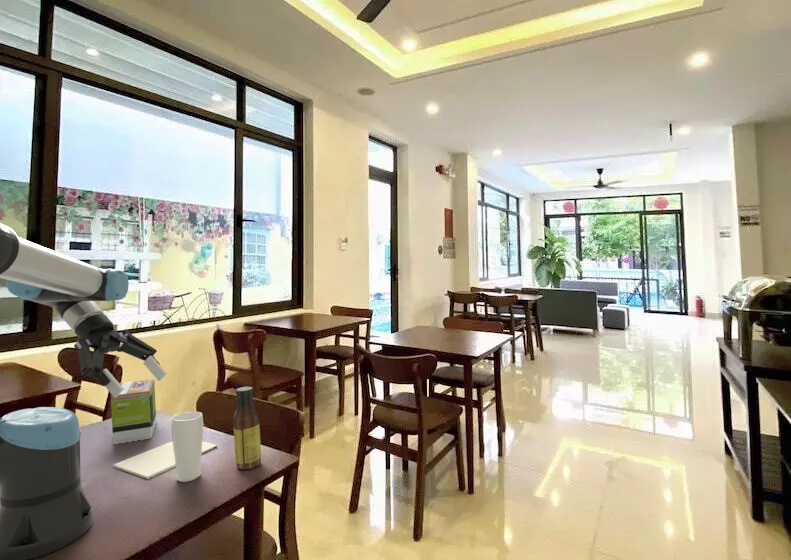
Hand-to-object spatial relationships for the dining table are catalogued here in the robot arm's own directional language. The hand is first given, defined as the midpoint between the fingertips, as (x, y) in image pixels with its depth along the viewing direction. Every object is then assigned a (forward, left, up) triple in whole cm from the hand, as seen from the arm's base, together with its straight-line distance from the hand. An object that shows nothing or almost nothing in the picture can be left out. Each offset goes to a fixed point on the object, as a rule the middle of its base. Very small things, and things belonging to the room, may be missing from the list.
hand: (142, 385), depth 103 cm
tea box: (+14, +27, -22) cm, 37 cm away
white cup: (+3, -12, -22) cm, 25 cm away
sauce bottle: (+14, -20, -22) cm, 33 cm away
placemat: (+8, +3, -22) cm, 23 cm away
